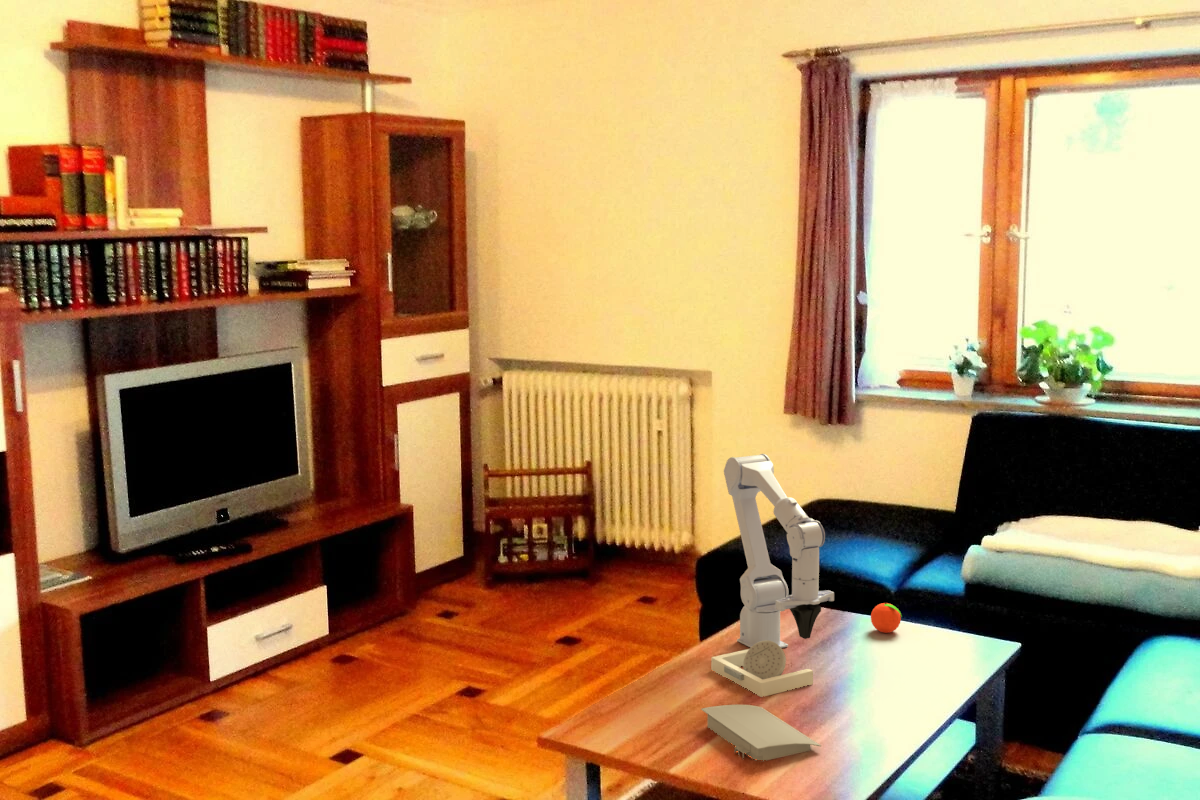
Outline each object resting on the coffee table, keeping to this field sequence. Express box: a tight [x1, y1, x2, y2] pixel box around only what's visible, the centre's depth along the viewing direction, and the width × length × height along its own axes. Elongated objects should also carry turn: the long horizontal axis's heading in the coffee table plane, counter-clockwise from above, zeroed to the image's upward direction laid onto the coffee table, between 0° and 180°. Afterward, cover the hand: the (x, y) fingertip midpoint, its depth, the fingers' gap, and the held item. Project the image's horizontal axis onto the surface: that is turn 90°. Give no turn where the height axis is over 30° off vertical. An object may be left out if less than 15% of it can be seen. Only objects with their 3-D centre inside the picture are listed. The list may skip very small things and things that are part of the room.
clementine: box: [870, 602, 903, 634], centre depth 289 cm, size 8×7×7 cm
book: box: [700, 704, 822, 762], centre depth 231 cm, size 15×23×4 cm, turn 25°
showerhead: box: [742, 640, 787, 680], centre depth 260 cm, size 9×7×10 cm
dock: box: [710, 648, 814, 698], centre depth 262 cm, size 18×14×3 cm
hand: (804, 637), depth 267 cm, fingers closed
